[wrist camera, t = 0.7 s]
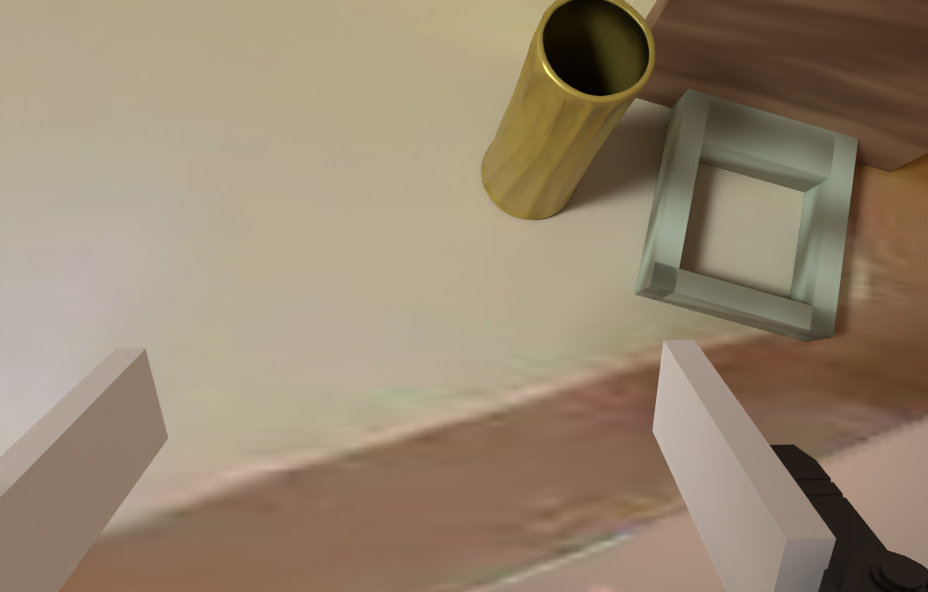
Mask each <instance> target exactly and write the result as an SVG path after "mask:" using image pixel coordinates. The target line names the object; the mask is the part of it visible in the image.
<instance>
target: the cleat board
mask: <svg viewBox="0 0 928 592" xmlns="http://www.w3.org/2000/svg"><path fill="white" fill-rule="evenodd" d="M645 21H646V23H647V24H648V26H649V28H650V30H651V32H652V34H653V37H654V41H655V65H654V68H653V71H652V73H651V75H650V77H649V79H648V81H647V83H646V84H645V86H644V87H643V89H642V90H641V92H640V93H639V94H638V95H637V97H636V98H639V99H643V100H646V101H650V102H653V103H656V104H660V105H663V106H667V107H670V108H672V110H671V115H670V120H669V125H668V130H667V135H666V140H665V145H664V150H663V155H662V160H661V165H660V170H659V175H658V180H657V185H656V190H655V195H654V200H653V205H652V210H651V215H650V220H649V225H648V230H647V235H646V240H645V245H644V250H643V255H642V260H641V265H640V270H639V275H638V280H637V285H636V290H635V294H636V295H640V296H643V297H647V298H651V299H654V300H658V301H661V302H665V303H669V304H672V305H676V306H679V307H683V308H687V309H690V310H694V311H698V312H701V313H705V314H708V315H712V316H716V317H719V318H723V319H726V320H730V321H734V322H737V323H741V324H744V325H748V326H752V327H755V328H759V329H762V330H766V331H770V332H773V333H777V334H780V335H784V336H788V337H791V338H795V339H798V340H802V341H806V342H808V341H813V340H818V339H823V338H829V337H833V336H834V328H835V320H836V312H837V304H838V296H839V288H840V280H841V272H842V264H843V256H844V248H845V240H846V232H847V224H848V216H849V208H850V200H851V192H852V184H853V176H854V168H855V162H858V163H861V164H864V165H868V166H871V167H875V168H878V169H882V170H885V171H888V172H891V171H893V170H895V169H897V168H899V167H901V166H903V165H905V164H907V163H909V162H911V161H913V160H915V159H917V158H919V157H920V156H922V155H924V154H926V153H928V0H657V1H656V3H655V4H654V6H653V8H652V9H651V11H650V12H649V14H648V16H647V17H646V19H645ZM699 162H702V163H705V164H709V165H712V166H716V167H719V168H723V169H726V170H730V171H733V172H737V173H740V174H743V175H747V176H750V177H754V178H757V179H761V180H764V181H768V182H771V183H775V184H778V185H781V186H785V187H788V188H792V189H795V190H799V191H802V192H805V197H804V204H803V211H802V218H801V225H800V232H799V239H798V246H797V253H796V260H795V267H794V274H793V281H792V288H791V295H790V299H786V298H782V297H779V296H775V295H772V294H768V293H765V292H761V291H757V290H754V289H750V288H747V287H743V286H740V285H736V284H732V283H729V282H725V281H722V280H718V279H715V278H711V277H707V276H704V275H700V274H697V273H693V272H690V271H686V270H683V269H679V266H680V260H681V255H682V250H683V244H684V239H685V233H686V228H687V223H688V217H689V212H690V206H691V201H692V196H693V190H694V185H695V179H696V174H697V169H698V163H699Z"/></svg>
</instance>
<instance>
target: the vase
mask: <svg viewBox="0 0 928 592" xmlns="http://www.w3.org/2000/svg"><path fill="white" fill-rule="evenodd" d="M654 65H655V41H654V37H653V34H652V32H651V30H650V28H649V26H648V24H647V23H646V21H645V20H644V18H643V17H642V16H641V15H640V14H639V13H638V12H637V11H636V10H635V9H634V8H632V7H631V6H630V5H629V4H628V3H626V2H625V1H623V0H557V1H555V2H554V3H553V4H552V5H551V6H550V7H549V8H548V9H547V10H546V11H545V13H544V15H543V17H542V19H541V21H540V23H539V25H538V27H537V29H536V31H535V33H534V36H533V39H532V41H531V44H530V47H529V51H528V54H527V57H526V60H525V62H524V65H523V68H522V71H521V74H520V77H519V80H518V82H517V85H516V88H515V91H514V93H513V96H512V98H511V100H510V103H509V105H508V107H507V110H506V112H505V114H504V116H503V119H502V121H501V123H500V126H499V128H498V131H497V133H496V136H495V138H494V140H493V142H492V143H491V144H490V146H489V148H488V150H487V152H486V154H485V156H484V158H483V161H482V182H483V185H484V188H485V190H486V192H487V194H488V195H489V197H490V198H491V199H492V201H493V202H494V203H495V204H496V205H497V206H498V207H499V208H500V209H501V210H503V211H504V212H506V213H507V214H509V215H512V216H514V217H517V218H521V219H526V220H535V219H542V218H546V217H549V216H551V215H553V214H555V213H557V212H558V211H560V210H561V209H562V208H563V207H564V206H565V205H566V204H567V203H568V201H569V200H570V198H571V197H572V195H573V192H574V190H575V188H576V186H577V184H578V183H579V181H580V180H581V178H582V176H583V175H584V173H585V172H586V170H587V169H588V167H589V165H590V163H591V161H592V160H593V158H594V156H595V155H596V154H597V152H598V151H599V149H600V148H601V146H602V145H603V143H604V142H605V140H606V139H607V137H608V136H609V134H610V133H611V131H612V130H613V128H614V127H615V125H616V124H617V122H618V121H619V119H620V118H621V117H622V115H623V114H624V113H625V111H626V110H627V109H628V107H629V106H630V104H631V103H632V102H633V101H634V99H635V98H636V97H637V95H638V94H639V93H640V92H641V90H642V89H643V87H644V86H645V84H646V83H647V81H648V79H649V77H650V75H651V73H652V71H653V68H654Z"/></svg>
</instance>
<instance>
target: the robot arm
mask: <svg viewBox="0 0 928 592" xmlns="http://www.w3.org/2000/svg"><path fill="white" fill-rule="evenodd" d="M653 433H654V435H655V437H656V440H657V442H658V444H659V446H660V448H661V451H662V453H663V455H664V457H665V459H666V462H667V464H668V466H669V468H670V470H671V473H672V475H673V477H674V479H675V481H676V484H677V486H678V488H679V490H680V492H681V495H682V497H683V499H684V501H685V503H686V506H687V508H688V510H689V512H690V514H691V517H692V519H693V521H694V523H695V525H696V528H697V530H698V532H699V534H700V536H701V539H702V541H703V543H704V545H705V547H706V550H707V552H708V554H709V556H710V558H711V561H712V563H713V565H714V567H715V569H716V571H717V574H718V576H719V578H720V580H721V583H722V584H723V587H724V589H725V591H726V592H928V569H927V568H925V567H924V566H923V565H921V564H919V563H917V562H916V561H914V560H912V559H910V558H908V557H906V556H903V555H900V554H897V553H894V552H891V551H888V550H887V549H886V548H885V546H884V545H883V544H882V543H881V541H880V540H879V539H878V538H877V536H876V535H875V534H874V533H873V531H872V530H871V529H870V528H869V526H868V525H867V524H866V523H865V521H864V520H863V519H862V518H861V516H860V515H859V514H858V512H857V511H856V510H855V509H854V508H853V506H852V505H851V504H850V502H849V501H848V500H847V499H846V498H843V494H842V492H841V491H840V490H839V489H838V487H837V486H836V485H835V484H834V483H833V482H831V479H830V477H829V476H828V475H827V473H825V471H824V470H823V468H822V467H821V466H820V465H819V463H818V462H817V461H816V460H815V459H813V458H812V457H810V456H809V455H808V454H806V453H805V452H803V451H802V450H800V449H799V448H798V447H796V446H795V445H769V444H768V443H767V441H766V440H765V438H764V437H763V436H762V434H761V433H760V431H759V430H758V429H757V427H756V426H755V424H754V423H753V422H752V420H751V419H750V417H749V416H748V415H747V413H746V412H745V410H744V409H743V408H742V406H741V405H740V403H739V402H738V401H737V399H736V398H735V396H734V395H733V394H732V392H731V391H730V389H729V388H728V387H727V385H726V384H725V382H724V381H723V380H722V378H721V377H720V375H719V374H718V373H717V371H716V370H715V368H714V367H713V366H712V364H711V363H710V361H709V360H708V359H707V357H706V356H705V354H704V353H703V352H702V350H701V349H700V347H699V346H698V345H697V343H696V342H695V340H664V341H663V349H662V357H661V365H660V374H659V382H658V390H657V398H656V407H655V415H654V423H653ZM167 439H168V436H167V432H166V428H165V424H164V420H163V416H162V412H161V408H160V404H159V400H158V396H157V392H156V388H155V384H154V380H153V377H152V373H151V369H150V365H149V361H148V357H147V353H146V349H115V350H114V351H113V352H112V353H111V354H110V355H109V356H108V357H107V358H105V359H104V360H103V361H102V362H101V363H100V364H99V365H98V366H97V367H96V368H95V369H94V370H93V371H92V372H91V373H90V374H88V375H87V376H86V377H85V378H84V379H83V380H82V381H81V382H80V383H79V384H78V385H77V386H76V387H75V388H74V389H72V390H71V391H70V392H69V393H68V394H67V395H66V396H65V397H64V398H63V399H62V400H61V401H60V402H59V403H58V404H57V405H55V406H54V407H53V408H52V409H51V410H50V411H49V412H48V413H47V414H46V415H45V416H44V417H43V418H42V419H41V420H39V421H38V422H37V423H36V424H35V425H34V426H33V427H32V428H31V429H30V430H29V431H28V432H27V433H26V434H25V435H24V436H22V437H21V438H20V439H19V440H18V441H17V442H16V443H15V444H14V445H13V446H12V447H11V448H10V449H9V450H8V451H6V452H5V453H4V454H3V455H2V456H1V457H0V592H59V591H60V589H61V588H62V586H63V585H64V584H65V582H66V581H67V579H68V578H69V577H70V575H71V574H72V572H73V571H74V570H75V568H76V567H77V565H78V564H79V563H80V561H81V560H82V558H83V557H84V556H85V554H86V553H87V551H88V550H89V548H90V547H91V546H92V544H93V543H94V541H95V540H96V539H97V537H98V536H99V534H100V533H101V532H102V530H103V529H104V527H105V526H106V525H107V523H108V522H109V520H110V519H111V518H112V516H113V515H114V513H115V512H116V511H117V509H118V508H119V506H120V505H121V504H122V502H123V501H124V499H125V498H126V497H127V495H128V494H129V492H130V491H131V489H132V488H133V487H134V485H135V484H136V482H137V481H138V480H139V478H140V477H141V475H142V474H143V473H144V471H145V470H146V468H147V467H148V466H149V464H150V463H151V461H152V460H153V459H154V457H155V456H156V454H157V453H158V452H159V450H160V449H161V447H162V446H163V445H164V443H165V442H166V440H167Z"/></svg>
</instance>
